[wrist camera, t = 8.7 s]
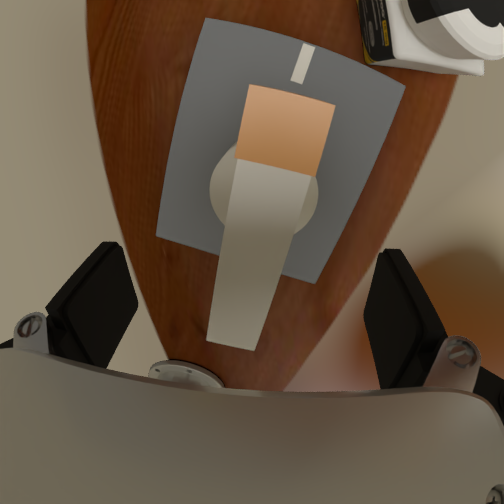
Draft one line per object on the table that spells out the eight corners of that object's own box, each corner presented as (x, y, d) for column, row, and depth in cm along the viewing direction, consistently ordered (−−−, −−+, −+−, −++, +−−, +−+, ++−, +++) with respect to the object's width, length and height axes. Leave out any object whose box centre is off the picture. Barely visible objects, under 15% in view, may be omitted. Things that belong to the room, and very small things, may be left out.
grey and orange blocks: (237, 80, 15) (194, 76, 7) (336, 103, 15) (386, 123, 8) (208, 240, 21) (170, 332, 14) (289, 258, 21) (289, 358, 14)
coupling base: (313, 274, 29) (318, 316, 24) (161, 228, 28) (136, 262, 23) (398, 85, 19) (431, 88, 14) (210, 21, 17) (188, 4, 12)
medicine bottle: (353, -11, 14) (405, -71, 4) (429, 2, 13) (513, -25, 3) (363, 64, 18) (434, 53, 8) (439, 73, 17) (533, 85, 7)
